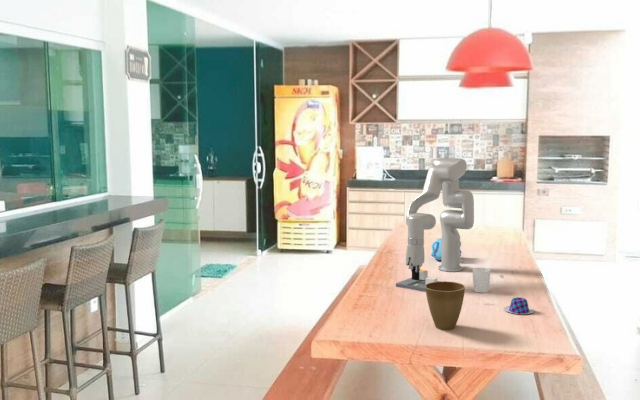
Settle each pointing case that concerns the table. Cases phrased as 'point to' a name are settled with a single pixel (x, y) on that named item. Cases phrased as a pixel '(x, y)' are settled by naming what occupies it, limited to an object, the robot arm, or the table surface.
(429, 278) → the block
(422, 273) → the block
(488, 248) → the table surface
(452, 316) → the plant pot
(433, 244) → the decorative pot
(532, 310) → the purple patterned hat
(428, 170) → the robot arm
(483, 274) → the white cup
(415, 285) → the breaker panel
